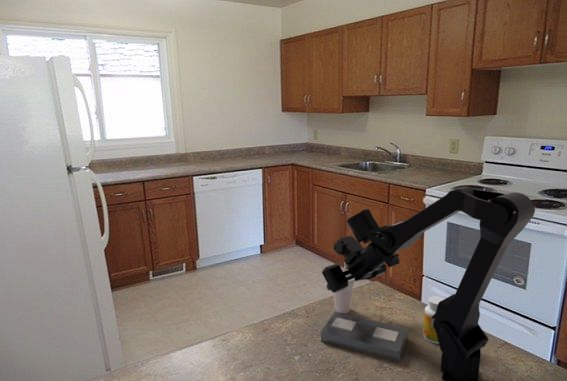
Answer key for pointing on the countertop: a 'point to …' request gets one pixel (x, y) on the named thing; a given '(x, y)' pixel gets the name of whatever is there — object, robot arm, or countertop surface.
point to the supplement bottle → (431, 319)
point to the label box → (365, 336)
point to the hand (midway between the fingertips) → (339, 283)
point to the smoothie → (344, 297)
